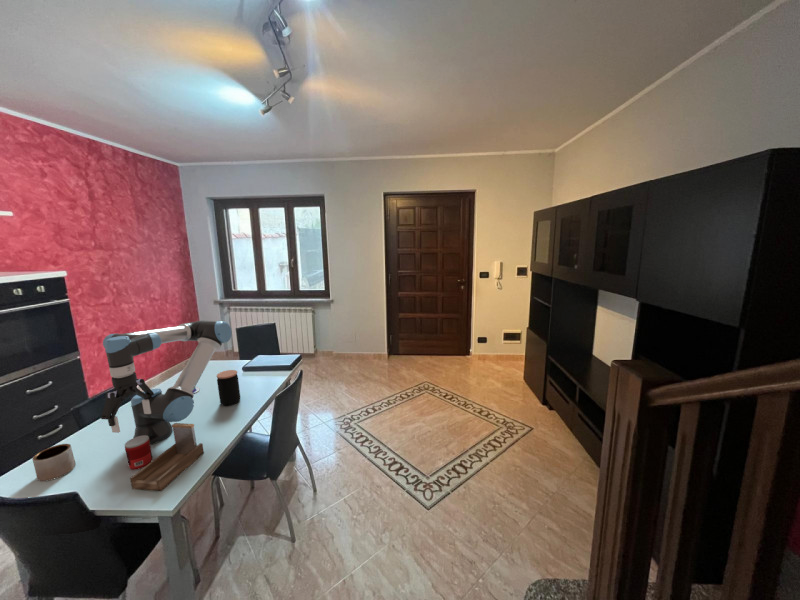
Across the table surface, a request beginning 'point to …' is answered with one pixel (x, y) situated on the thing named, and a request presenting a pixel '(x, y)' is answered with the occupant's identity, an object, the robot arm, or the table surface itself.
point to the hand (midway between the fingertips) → (132, 422)
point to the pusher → (184, 437)
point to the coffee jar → (228, 387)
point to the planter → (54, 462)
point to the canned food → (138, 452)
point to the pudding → (196, 390)
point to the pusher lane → (164, 469)
